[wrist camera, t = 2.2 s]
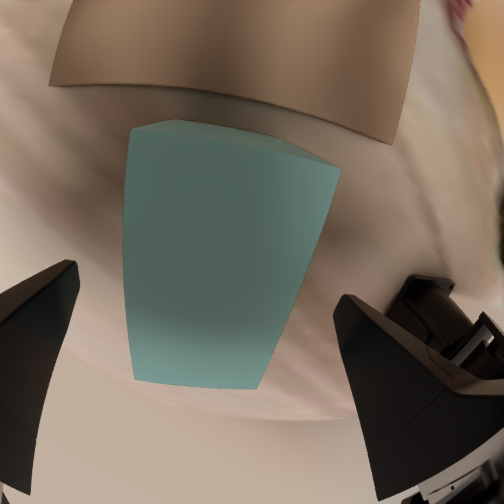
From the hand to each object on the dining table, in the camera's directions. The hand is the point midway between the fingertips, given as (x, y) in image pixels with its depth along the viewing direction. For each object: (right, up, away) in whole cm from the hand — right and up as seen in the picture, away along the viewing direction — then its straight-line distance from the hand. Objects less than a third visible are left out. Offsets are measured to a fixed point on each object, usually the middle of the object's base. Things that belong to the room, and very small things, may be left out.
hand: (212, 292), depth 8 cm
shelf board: (+1, +14, -1) cm, 14 cm away
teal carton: (-1, +3, +5) cm, 6 cm away
